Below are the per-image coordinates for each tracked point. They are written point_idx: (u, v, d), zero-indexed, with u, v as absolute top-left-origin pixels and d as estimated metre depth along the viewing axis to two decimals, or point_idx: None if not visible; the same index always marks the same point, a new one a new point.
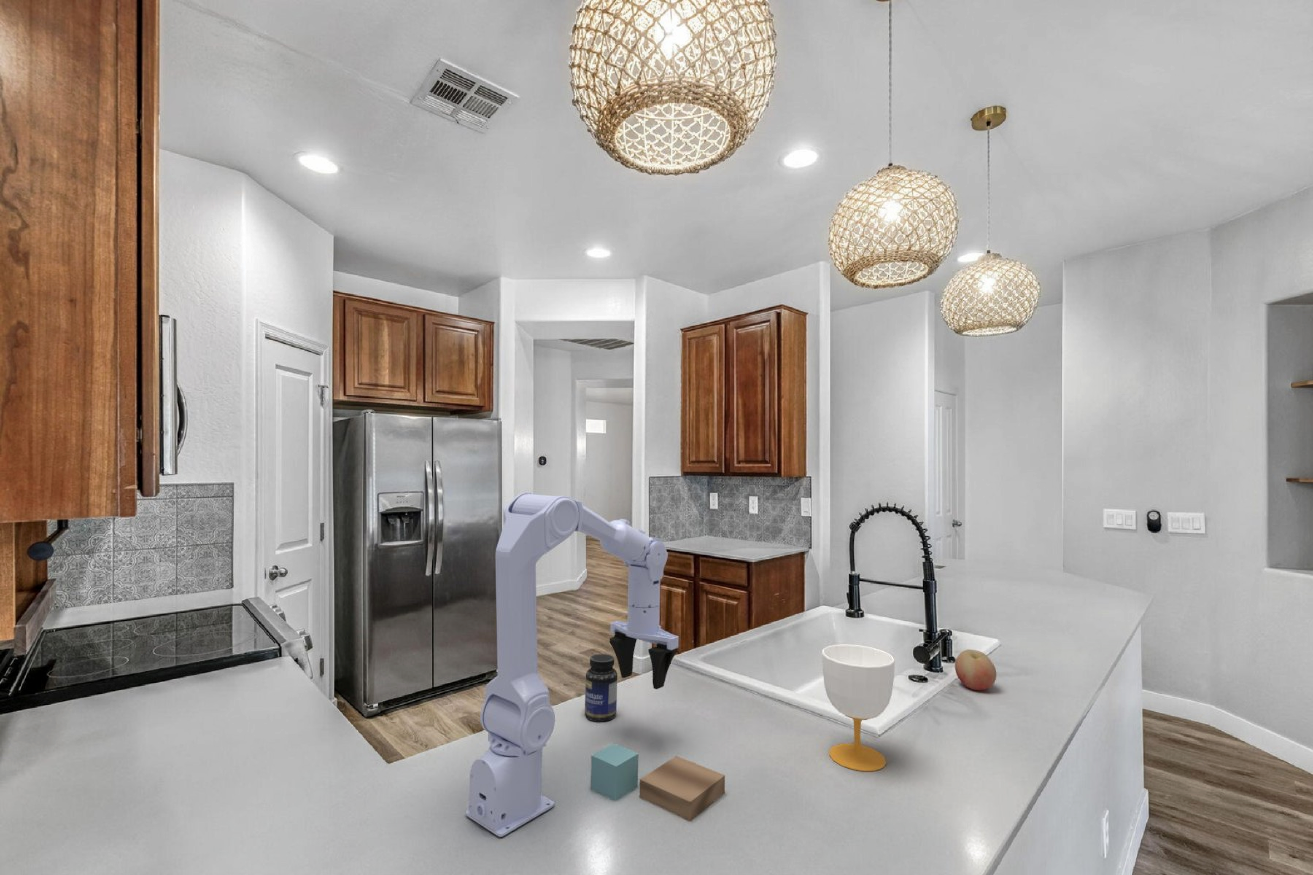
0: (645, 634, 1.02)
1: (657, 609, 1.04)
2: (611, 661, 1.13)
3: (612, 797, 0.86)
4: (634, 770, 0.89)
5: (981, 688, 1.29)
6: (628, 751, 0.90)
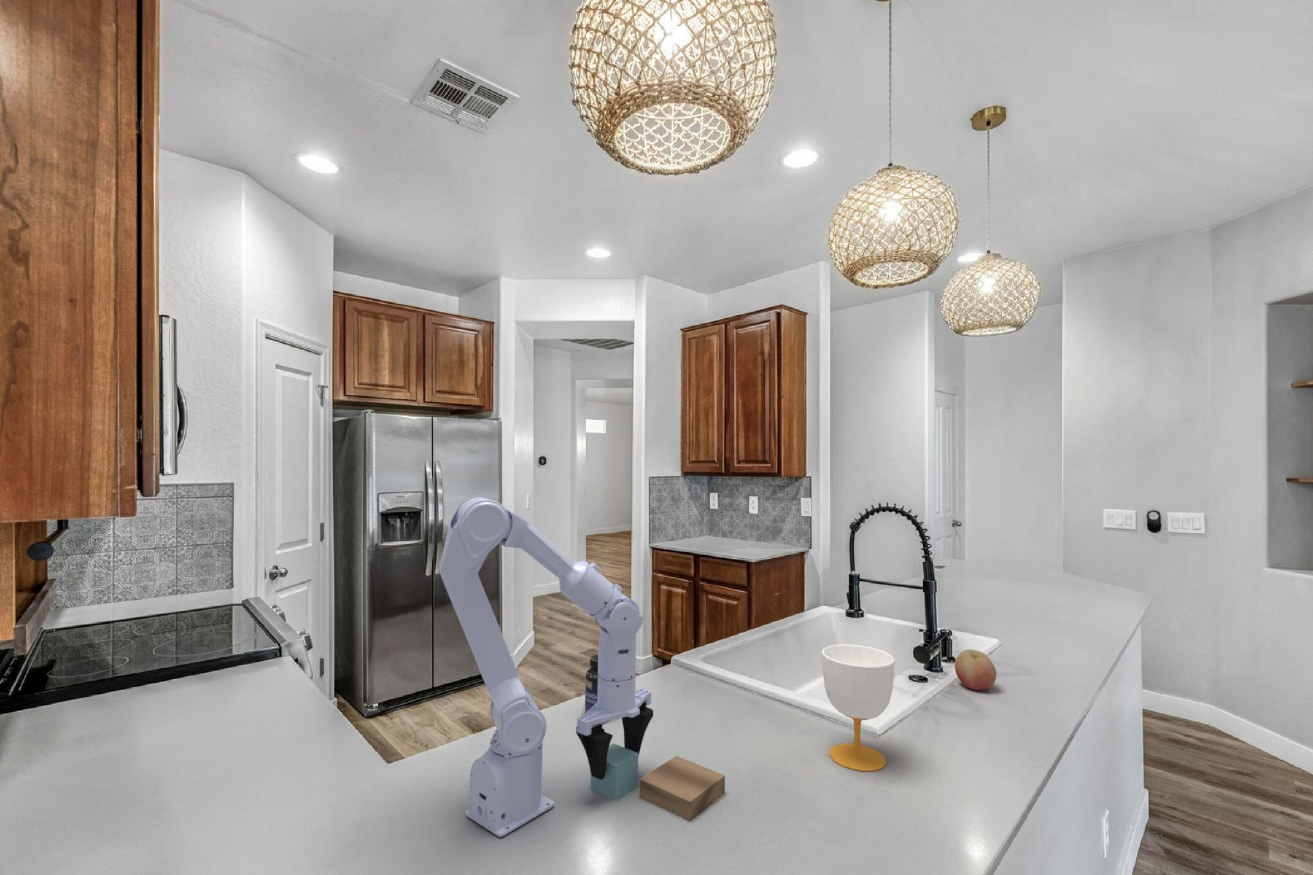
0: (595, 705, 0.89)
1: (606, 684, 0.87)
2: None
3: (612, 797, 0.86)
4: (634, 770, 0.89)
5: (981, 688, 1.29)
6: (628, 751, 0.90)
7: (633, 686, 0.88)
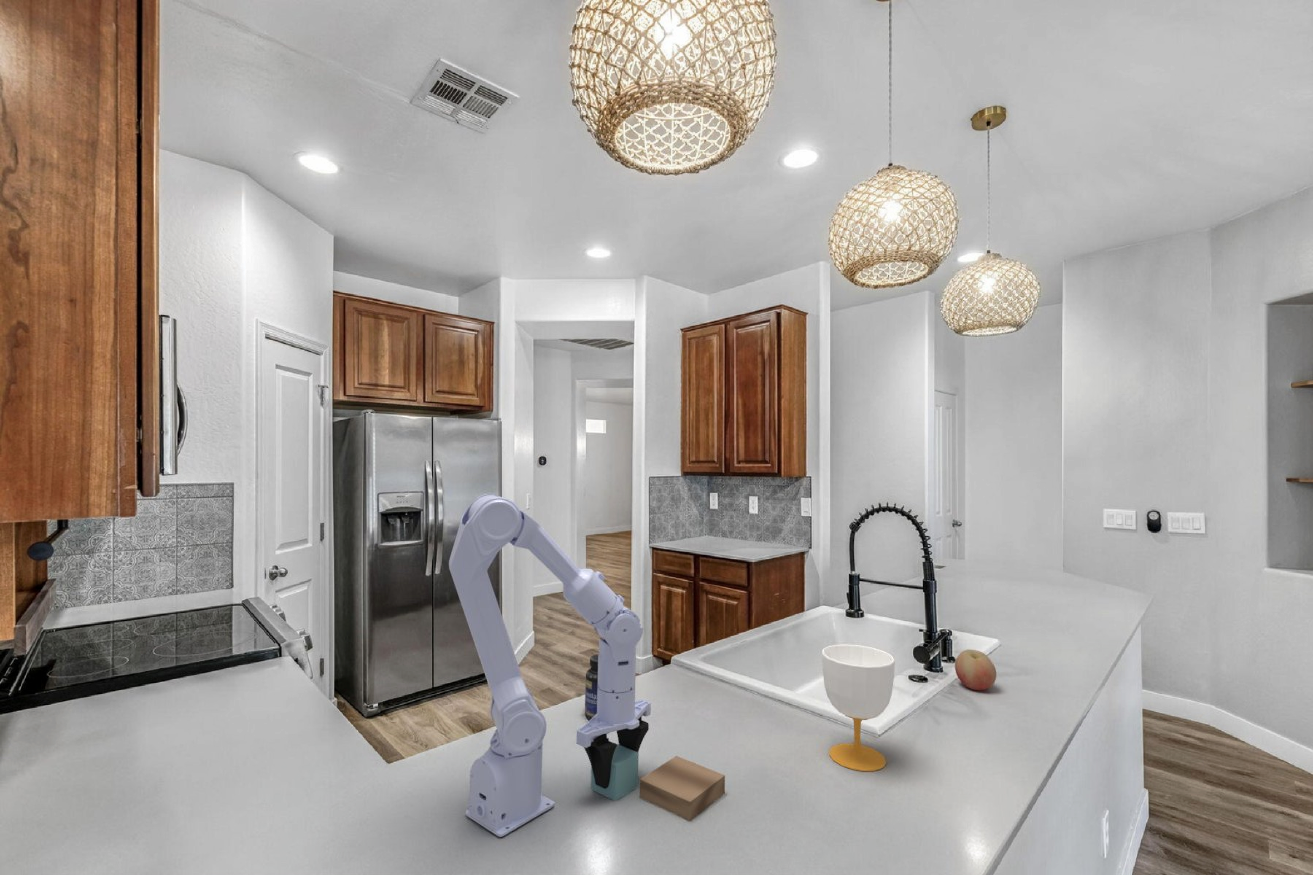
0: (595, 716, 0.88)
1: (606, 695, 0.87)
2: None
3: (612, 796, 0.86)
4: (634, 769, 0.89)
5: (981, 688, 1.29)
6: (628, 750, 0.90)
7: (633, 698, 0.88)
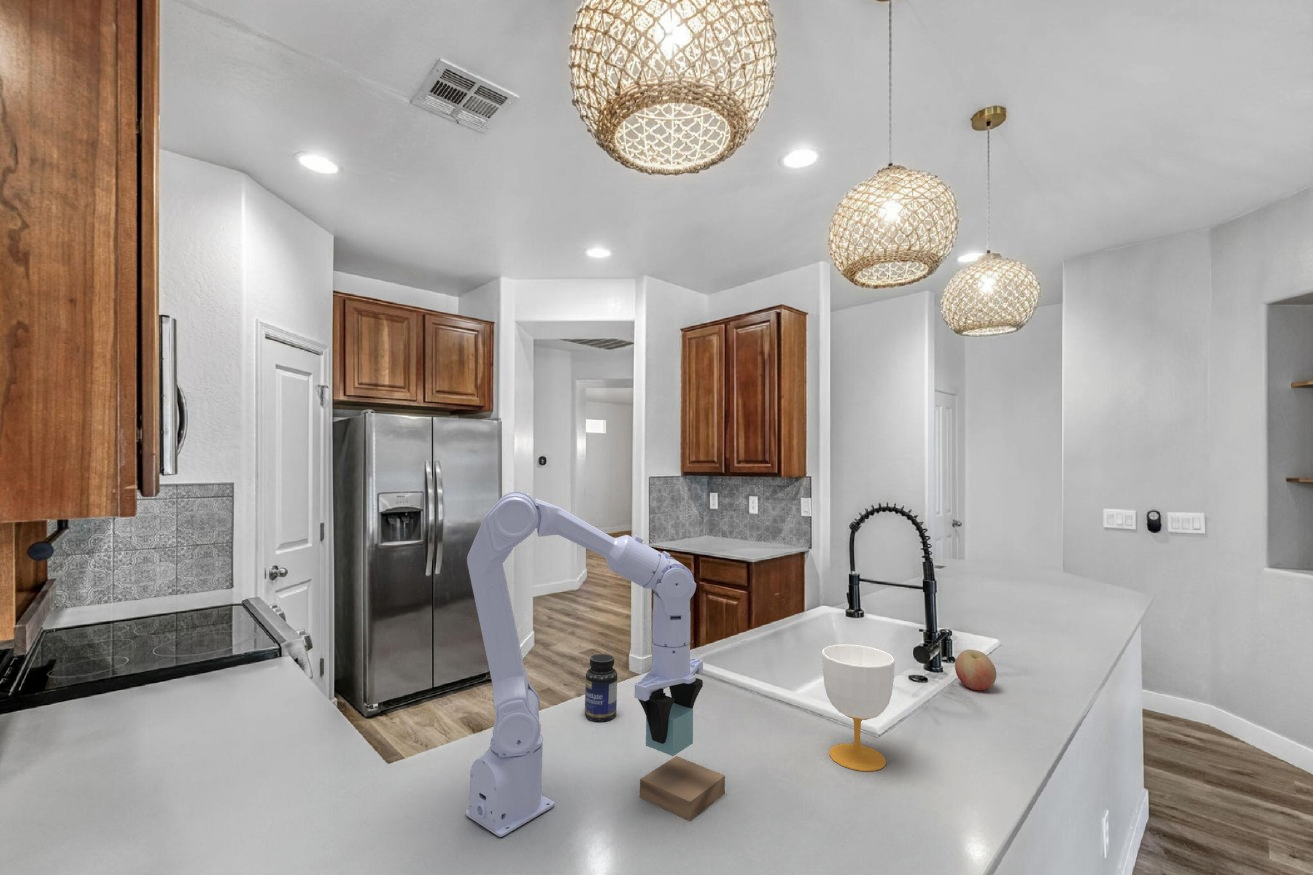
0: (650, 672, 0.88)
1: (662, 650, 0.86)
2: (611, 661, 1.13)
3: (669, 751, 0.85)
4: (689, 726, 0.88)
5: (981, 688, 1.29)
6: (682, 707, 0.89)
7: (688, 653, 0.87)
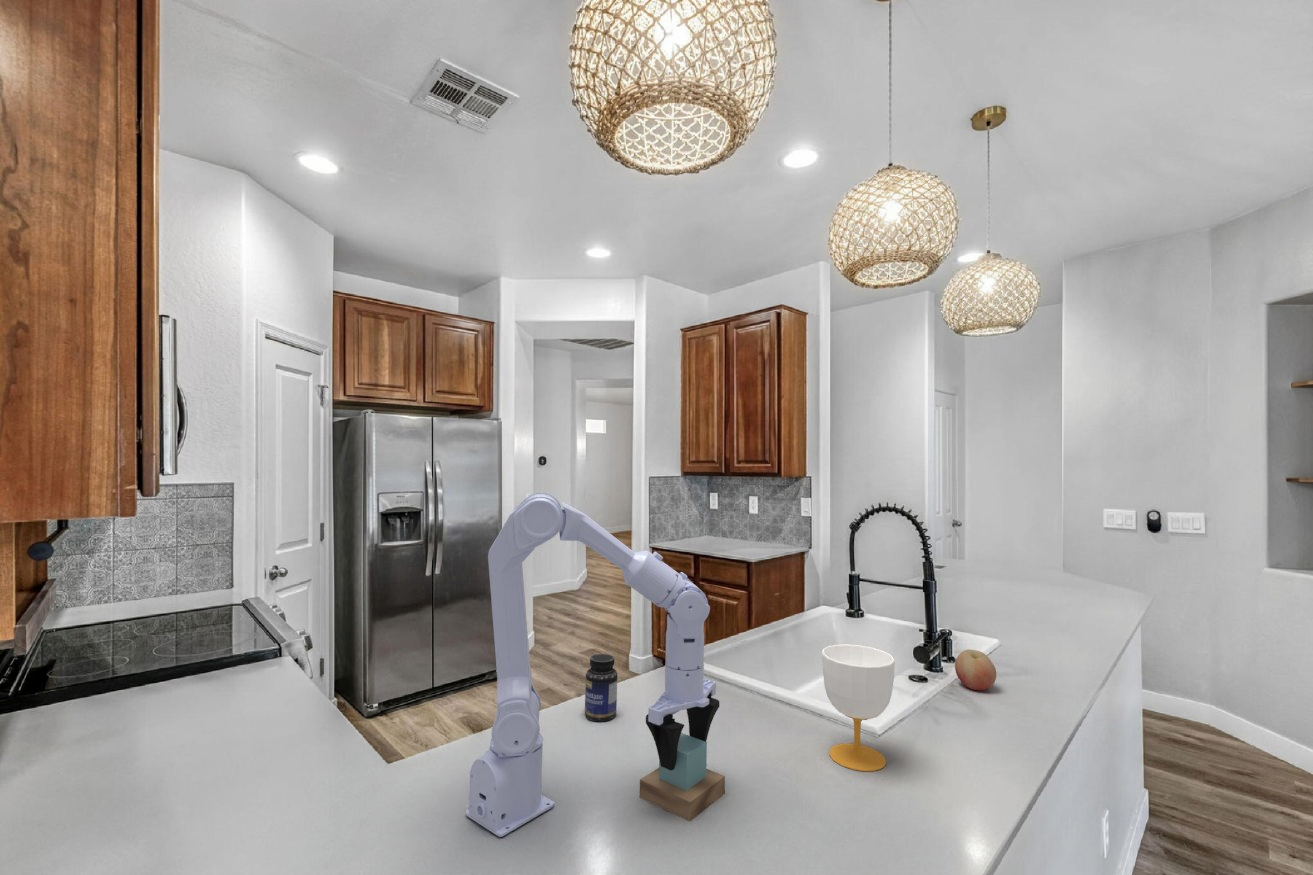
0: (663, 695, 0.87)
1: (676, 673, 0.85)
2: (611, 661, 1.13)
3: (682, 786, 0.84)
4: (703, 759, 0.87)
5: (981, 688, 1.29)
6: (696, 739, 0.88)
7: (702, 675, 0.87)
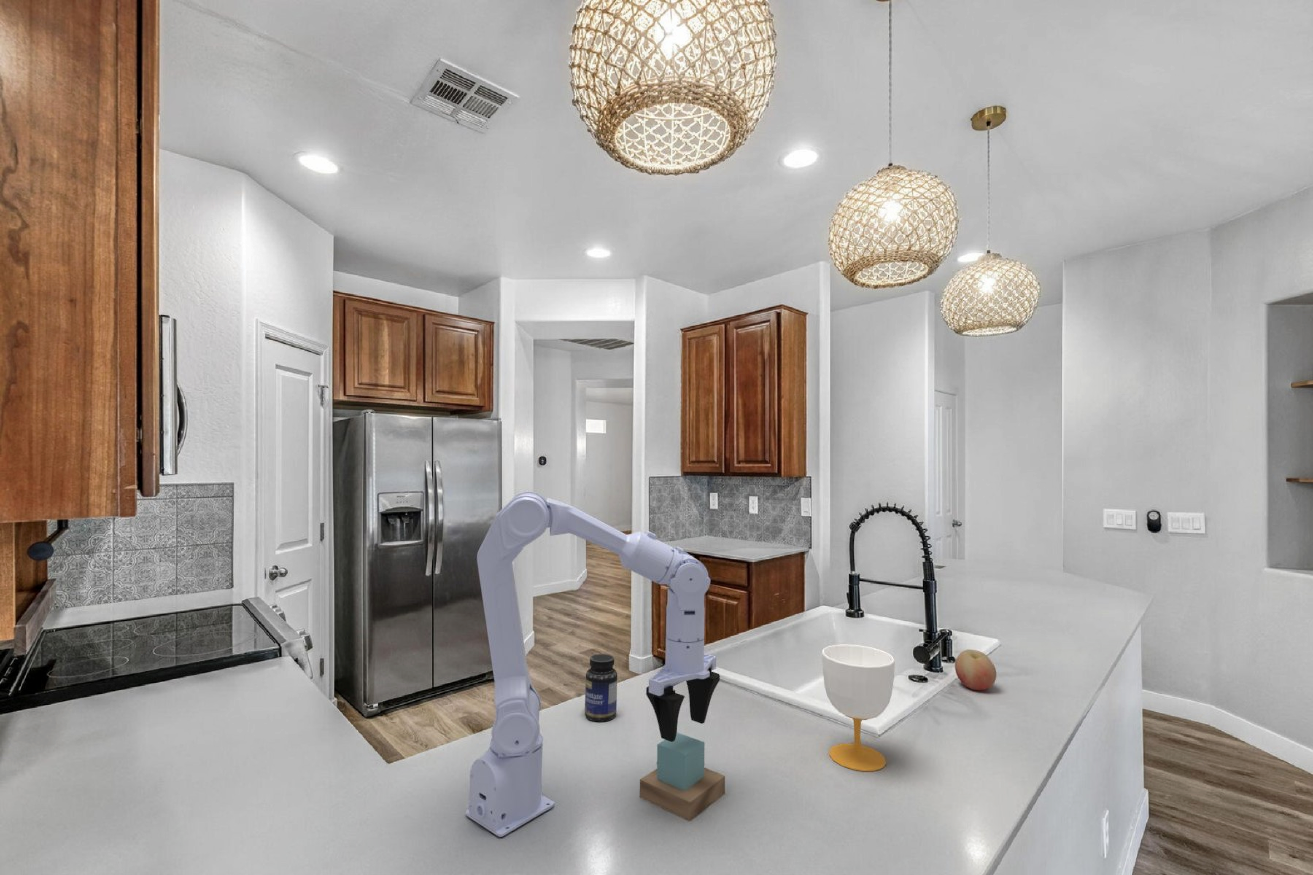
0: (664, 667, 0.87)
1: (676, 645, 0.85)
2: (611, 661, 1.13)
3: (681, 786, 0.84)
4: (701, 759, 0.87)
5: (981, 688, 1.29)
6: (693, 739, 0.88)
7: (702, 648, 0.87)
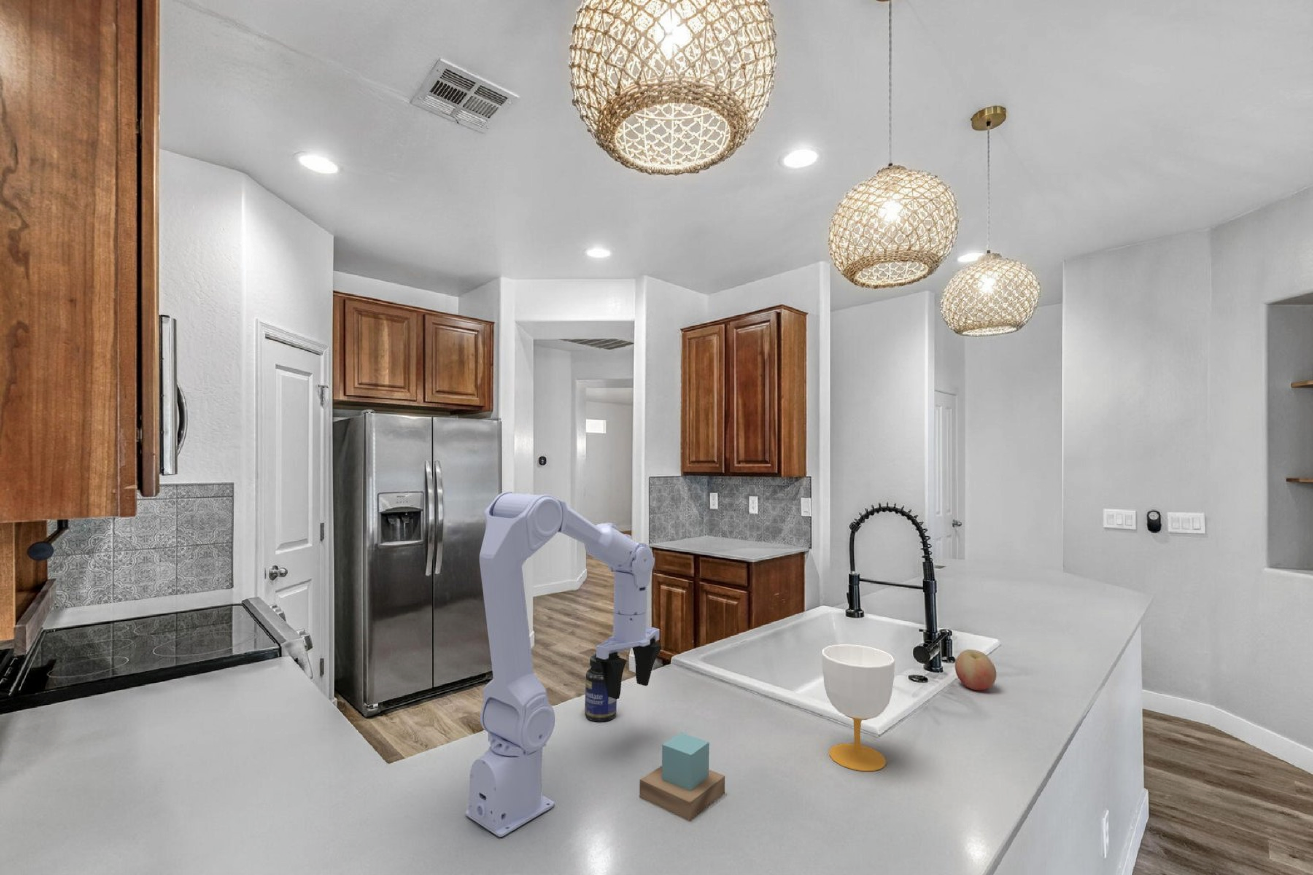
0: (611, 637, 1.02)
1: (621, 617, 1.00)
2: None
3: (686, 786, 0.84)
4: (706, 759, 0.87)
5: (981, 688, 1.29)
6: (698, 739, 0.88)
7: (644, 620, 1.01)
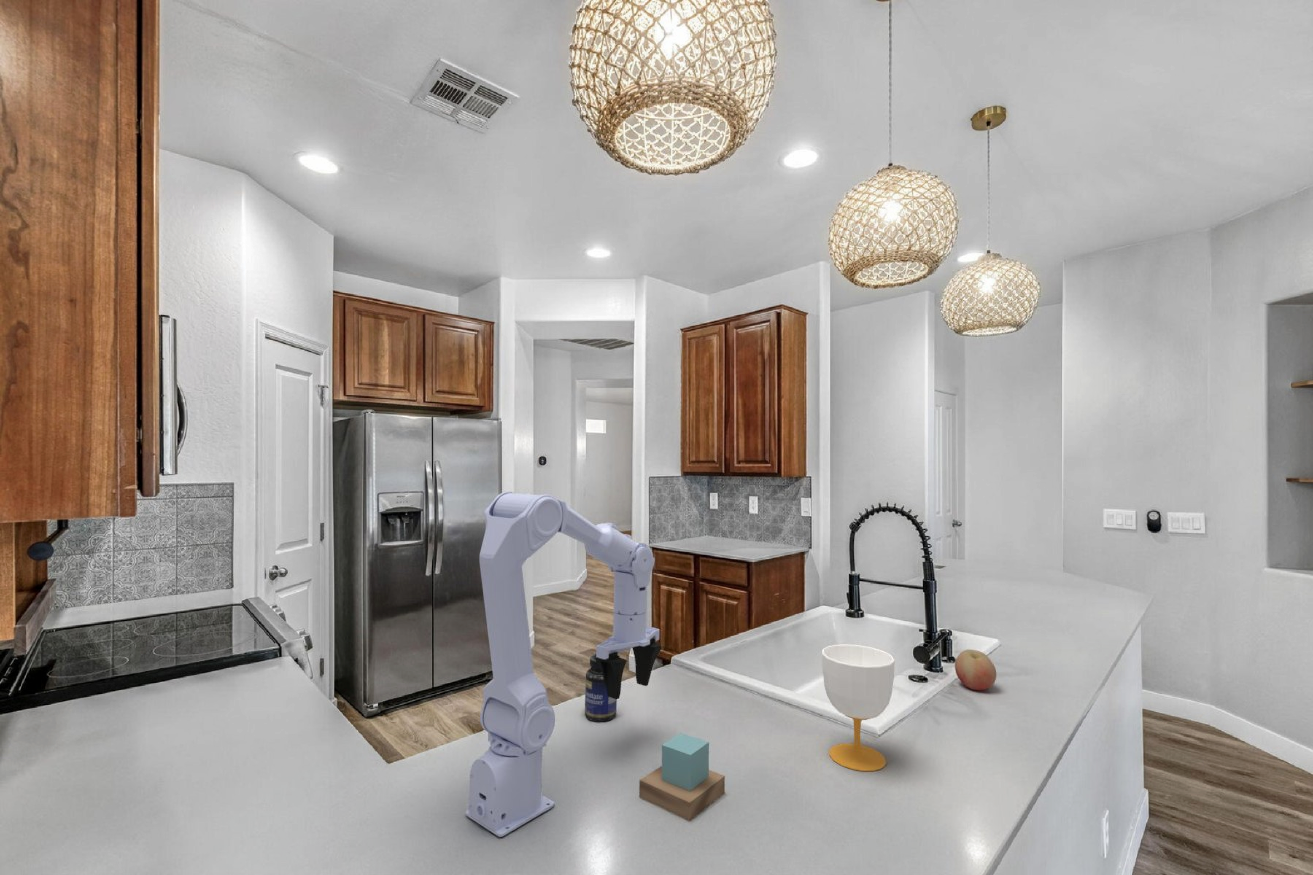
0: (611, 637, 1.02)
1: (621, 617, 1.00)
2: None
3: (686, 786, 0.84)
4: (705, 759, 0.87)
5: (981, 688, 1.29)
6: (698, 740, 0.88)
7: (644, 620, 1.01)
